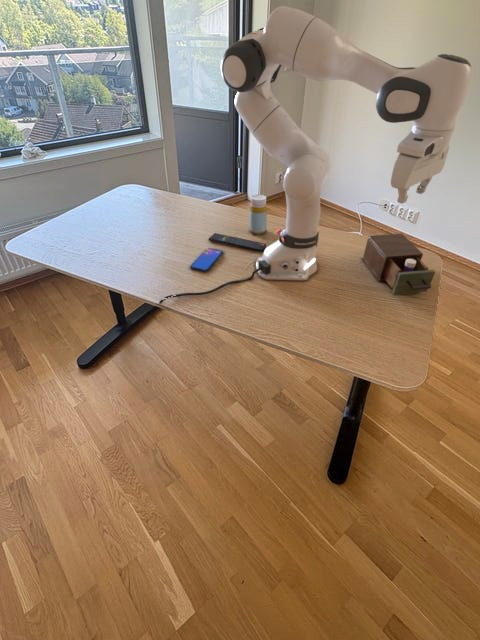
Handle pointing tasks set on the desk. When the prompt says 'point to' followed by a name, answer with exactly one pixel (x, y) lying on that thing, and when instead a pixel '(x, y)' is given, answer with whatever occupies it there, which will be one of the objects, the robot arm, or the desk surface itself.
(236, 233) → the desk surface
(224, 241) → the remote control
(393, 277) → the drawer
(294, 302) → the desk surface
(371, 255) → the cabinet
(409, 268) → the glue stick
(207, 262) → the smartphone
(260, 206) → the bottle
